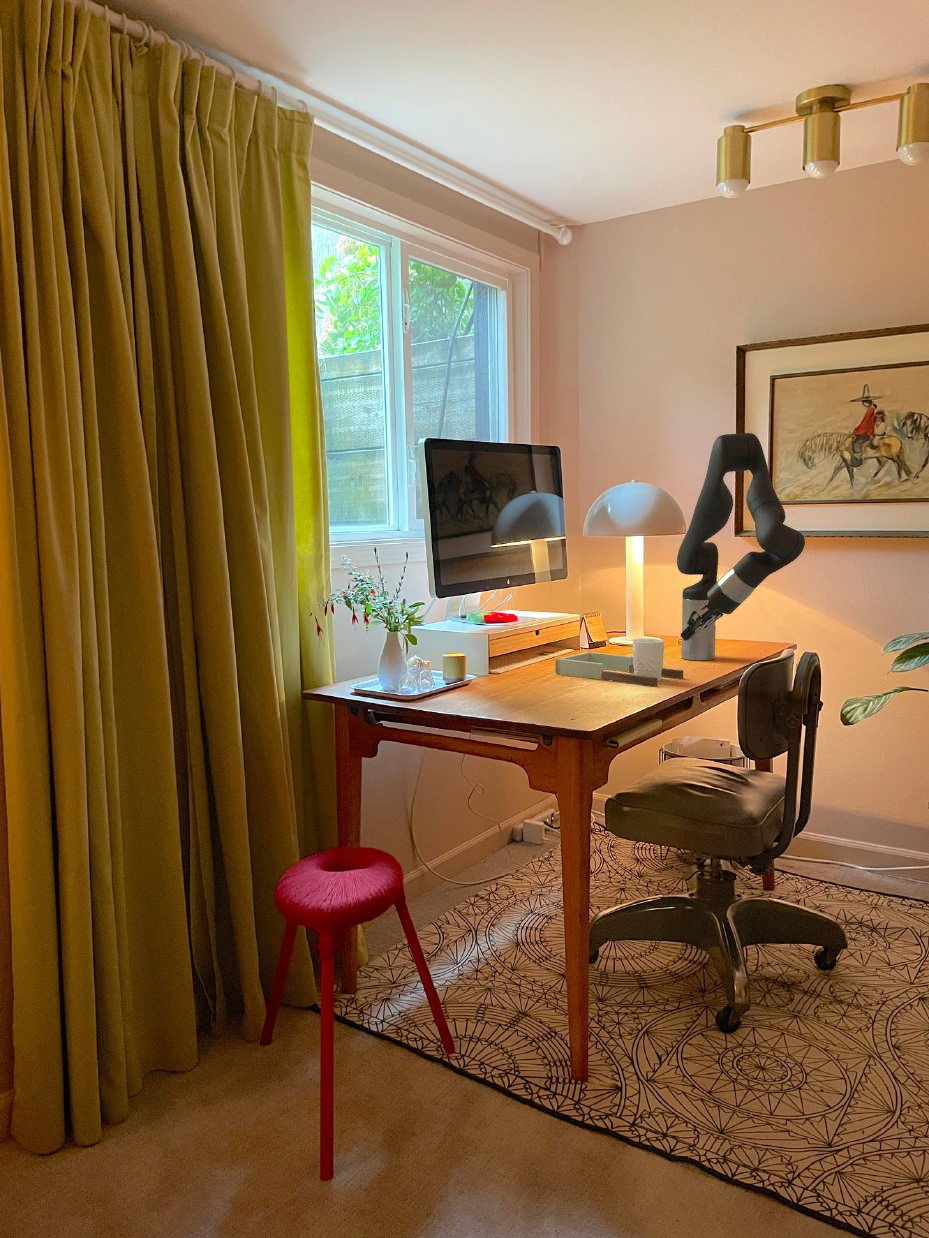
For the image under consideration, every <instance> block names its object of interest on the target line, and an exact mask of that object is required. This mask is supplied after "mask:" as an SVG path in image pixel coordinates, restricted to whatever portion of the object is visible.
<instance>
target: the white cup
mask: <svg viewBox="0 0 929 1238" xmlns="http://www.w3.org/2000/svg"><path fill="white" fill-rule="evenodd" d="M631 643H632V657H633V666H634V673H633V675H641V676H649V677H657V682H659V681H660V682H661V681H662V678H663V677H662V669H663V668H664V667H663V665H664V654H665V652H664V650H665V640H663V639H658V638H636V639H632V642H631Z"/></svg>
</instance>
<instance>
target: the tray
mask: <svg viewBox="0 0 929 1238" xmlns="http://www.w3.org/2000/svg"><path fill="white" fill-rule="evenodd" d="M629 665H633V656H627V655H620V654H611V653H601V652H592V651H586V652H582V653H576V654H572V655H568V656H563V657H558V658H555V674H556V673H557V674H556V675H561V676H567V675H569V676H570V677H577V678H582V677H586V678H585V679H590V678H596V679H595V680H598V679H600V681H603V680H602V672H604V671H605V670H608V669H609V670H608V671H610V670H611V671H616V670H619V671H618V672H624V671H629ZM569 676H568V677H569Z"/></svg>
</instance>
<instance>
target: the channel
mask: <svg viewBox="0 0 929 1238" xmlns="http://www.w3.org/2000/svg"><path fill="white" fill-rule="evenodd" d="M661 678H668V679H669V678H670V679H676V678H679V679H678V680H682V679H684V670H683V669H682V670H681V669H675V668H674V669H673V668H665V667H663V669H662V677H661ZM681 678H682V679H681ZM608 680H612V681H611V682H615V681H616V683H623V682H625V683H624V684H631V685H632V684H633V685H639V686H646V687H657V686H658V681H657V677H649V676H641V675H634V666H633V665H629V672H628V673H623V672H617V671H614V672H613V671H610V670H608V671H607V670H604V672H602V680H601V681H608Z"/></svg>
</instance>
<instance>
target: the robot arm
mask: <svg viewBox="0 0 929 1238" xmlns="http://www.w3.org/2000/svg"><path fill="white" fill-rule="evenodd" d="M764 453H765V452H764V449H763V447H762V444H761V441H760V439H759V438H758V436H757V435H756V434H755V433H752V432H751V433H749V432H740V433H739V432H738V433H728V434H727V433H726V434H722V435H721V434H720V435H718V437H716V439H715V440H714V442H713V445H712V448H711V451H710V456H709V460H708V465H707V470H706V475H705V479H704V482H703V484H702V488H701V490H700V493H699V496H698V499H697V502H696V504H695V507H694V511H693V515H692V518H691V521H690V524H689V527H688V529H687V531H686V533H685V536H684V538H683V540H682V542H681V544H680V545H679V549H678V551H677V556H676V557H677V558H676V567H677V569H678V571H679V572H680V574H683V575H687V576H694V575H695V576H697V575H699V576H702V577H701V579H700V580H699V581H698V582H696V583H695V584H691V585H689V586H687V587H684V589H682V596H681V597H682V600H681V601H682V603H681V605H682V607H681V608H682V609H681V612H682V614H681V633H680V637H681V655H680V656H681V659H683V660H690V661H711V660H714V659H715V658H716V631H717V630H716V628H717V627H716V621H717V620H719V619H720V618H723V616H724V615H732V614H733V612H734V611H735V610H736V609H738V607H740V606H741V605H742V604H743V603H744V601H746V600H747V599H748V598H750V596H751V595H752V593H753V592H754V591H755V590H756V589H757V587H759V586H760V585H761V584H762V583H763V582H764V581H765V580H766V578H768V577H769V576H770V575H772V574H774V573H776V572H778V571H779V570H781V569H783V568H784V567H786V566H788V565H790V564H791V563H793V562H794V561H795V560H797V558H798V557H799V556H800V555H801V554H802V553H803V550H804V549H805V545H806V539H805V536H804V535H803V533H802V532H800V531H798V530H797V529H795V528H792V527H790V526H788V525H786V524H785V523H784V522H785V521H786V511H785V509H784V507H783V506H784V505H783V504H782V503H781V500H780V498H779V497H778V496H779V495H777V493H776V490H775V488H774V485H773V482H772V479H771V476H770V471H769V467H768V464H767V460H766V456H765V454H764ZM745 471H746V472H747V471H748V472H750V473H751V475H752V479H751V481H750V484H749V486H748V489H747V491H746V496H745V498H746V499H745V501H746V506H747V509H748V511H749V513H750V516H751V517H752V519H753V522H754V530H755V538H756V542H757V544H758V545H759V546H760V548H761V549H762V550H763V551H760V552H759V551H749V552H747V553H746V554H745V555H744V556H743V557H741V559H740V560H739V561H738V562H737V563H736V564H735V565H734V566H733V567H732V568H730V569H729V570H728V571H727V572H725V574H723V576H721V577H720V578H719V580H718V569H719V550H718V546H717V544H716V543H715V542H711V541H708V540H709V539H710V538H712V537H714V536H715V535H717V534H718V533H719V532H720V531H721V530H723V529H724V527H726V525H727V523H728V521H729V520H730V516H731V514H732V511H733V508H734V499H733V494H732V493H731V491H730V489H729V488H728V486H727V485H726V483H725V480H724V479H725V476H726V474H727V473H731V472H745ZM717 580H718V581H717Z"/></svg>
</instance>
